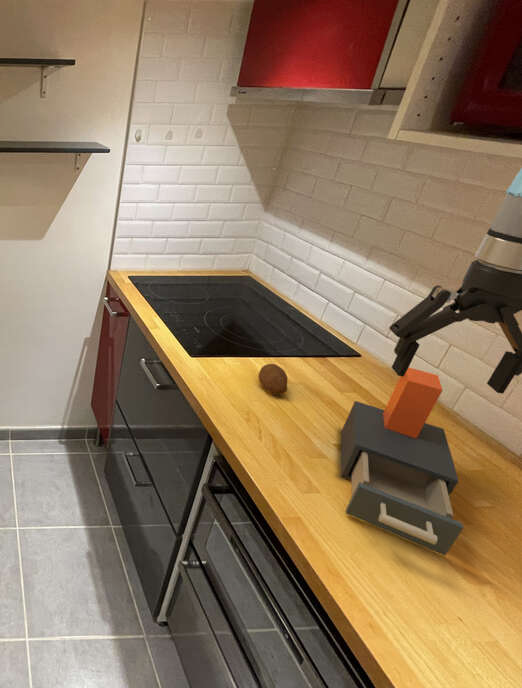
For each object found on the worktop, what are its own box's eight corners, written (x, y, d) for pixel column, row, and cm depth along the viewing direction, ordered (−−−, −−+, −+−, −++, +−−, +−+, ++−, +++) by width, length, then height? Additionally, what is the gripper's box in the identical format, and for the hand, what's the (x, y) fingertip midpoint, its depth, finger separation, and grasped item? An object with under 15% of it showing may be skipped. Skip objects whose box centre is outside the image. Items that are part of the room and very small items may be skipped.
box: (413, 422, 94) (438, 375, 89) (416, 438, 89) (442, 390, 84) (382, 412, 96) (405, 366, 91) (384, 428, 92) (408, 380, 87)
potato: (261, 396, 115) (268, 376, 112) (250, 375, 123) (256, 356, 121) (290, 401, 113) (297, 380, 111) (277, 378, 122) (283, 359, 119)
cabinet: (437, 515, 83) (459, 481, 80) (340, 476, 91) (356, 444, 87) (425, 460, 96) (444, 428, 92) (341, 430, 103) (354, 400, 100)
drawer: (449, 576, 72) (469, 548, 69) (345, 530, 79) (359, 502, 76) (432, 494, 86) (448, 468, 84) (345, 461, 94) (357, 436, 91)
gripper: (421, 263, 68) (368, 377, 77) (641, 287, 61) (556, 410, 70) (397, 247, 75) (351, 354, 83) (594, 268, 68) (521, 382, 76)
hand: (444, 380), depth 77 cm, fingers open, 13 cm apart
